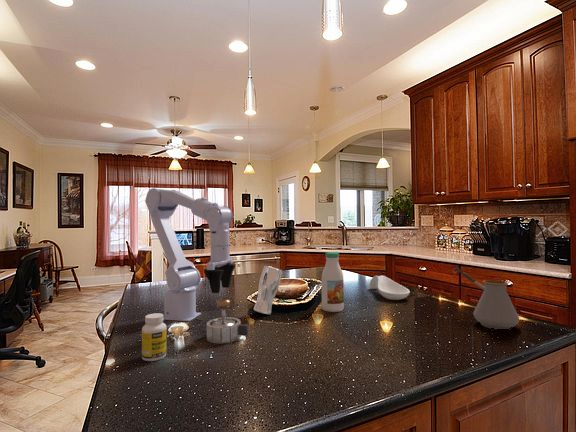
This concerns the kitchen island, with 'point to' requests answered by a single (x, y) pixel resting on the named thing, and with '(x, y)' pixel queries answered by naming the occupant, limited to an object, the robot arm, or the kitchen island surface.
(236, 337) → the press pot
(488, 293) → the coffee pot
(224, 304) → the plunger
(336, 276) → the milk bottle
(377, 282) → the spoon rest
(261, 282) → the beer glass
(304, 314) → the kitchen island surface
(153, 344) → the supplement bottle
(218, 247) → the robot arm
